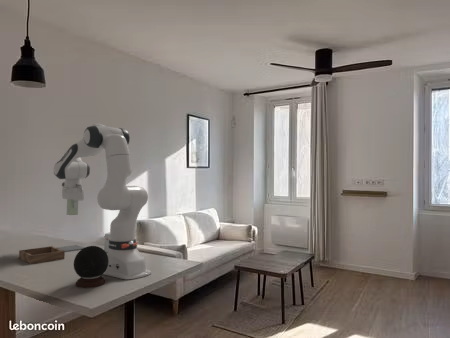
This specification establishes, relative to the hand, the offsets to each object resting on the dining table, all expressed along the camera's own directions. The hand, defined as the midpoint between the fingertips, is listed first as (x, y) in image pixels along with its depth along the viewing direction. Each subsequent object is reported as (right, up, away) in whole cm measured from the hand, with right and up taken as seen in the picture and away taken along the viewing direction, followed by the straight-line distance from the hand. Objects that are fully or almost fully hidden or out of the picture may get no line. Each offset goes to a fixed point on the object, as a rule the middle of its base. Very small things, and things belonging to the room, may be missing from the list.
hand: (72, 207), depth 200 cm
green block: (0, -4, 0) cm, 4 cm away
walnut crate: (-5, -23, -25) cm, 35 cm away
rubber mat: (-1, -24, -1) cm, 24 cm away
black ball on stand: (+35, -24, -63) cm, 76 cm away
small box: (+25, -25, -4) cm, 36 cm away
